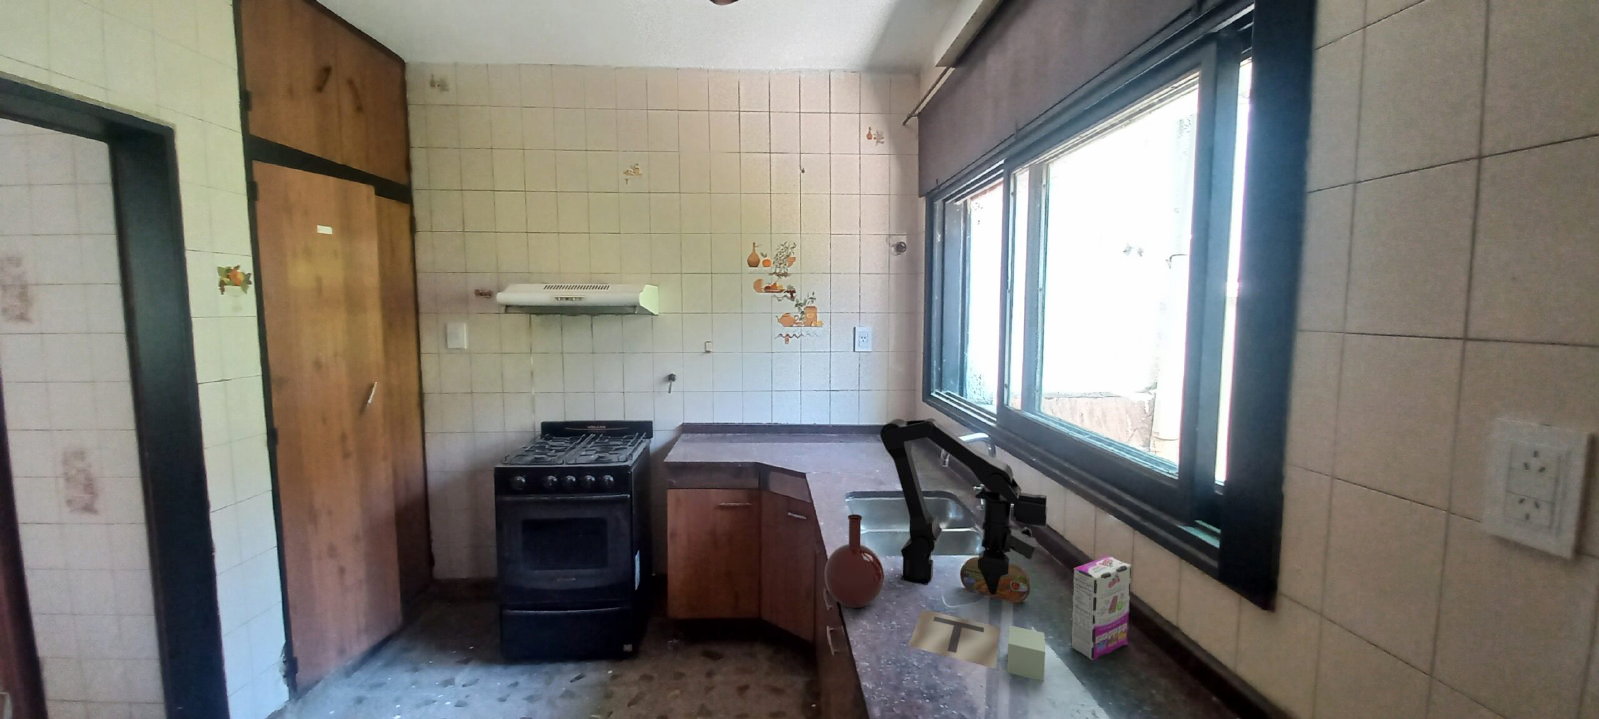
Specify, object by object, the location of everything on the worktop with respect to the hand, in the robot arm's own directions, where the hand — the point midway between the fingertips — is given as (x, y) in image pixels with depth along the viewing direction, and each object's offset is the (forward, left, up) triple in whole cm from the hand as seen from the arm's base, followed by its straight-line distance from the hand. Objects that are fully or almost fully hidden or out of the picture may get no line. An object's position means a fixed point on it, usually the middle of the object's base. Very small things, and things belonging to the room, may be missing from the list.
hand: (994, 584), depth 122 cm
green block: (+7, -24, -3) cm, 25 cm away
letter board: (-6, -20, -3) cm, 21 cm away
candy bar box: (+20, -11, -3) cm, 23 cm away
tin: (0, 0, -3) cm, 3 cm away
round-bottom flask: (-28, -16, -3) cm, 33 cm away
